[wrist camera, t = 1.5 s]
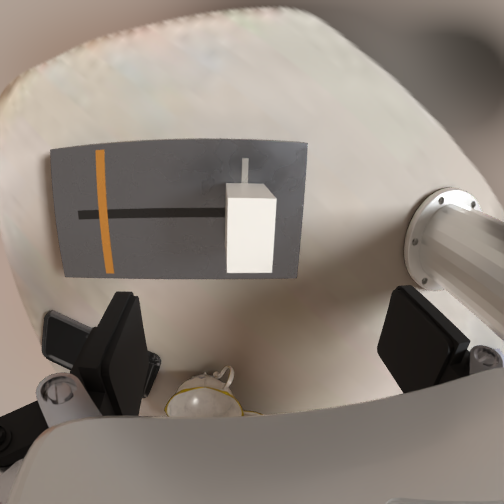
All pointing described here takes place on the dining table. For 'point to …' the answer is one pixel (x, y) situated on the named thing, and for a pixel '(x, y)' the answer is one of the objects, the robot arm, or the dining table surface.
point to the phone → (78, 345)
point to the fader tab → (249, 228)
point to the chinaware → (206, 398)
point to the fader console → (170, 205)
